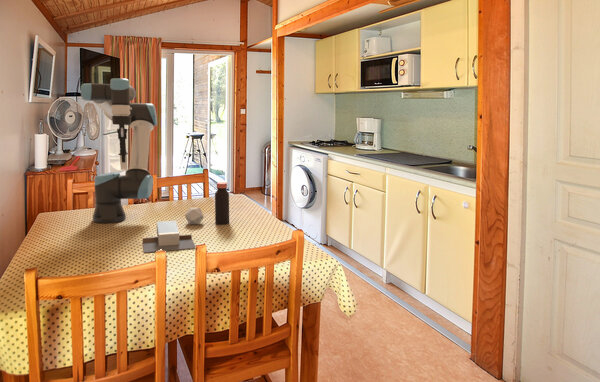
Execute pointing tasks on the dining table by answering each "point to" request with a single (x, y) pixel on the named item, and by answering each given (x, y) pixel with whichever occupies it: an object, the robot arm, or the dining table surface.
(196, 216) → the grey faceted rock
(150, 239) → the rail
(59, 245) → the dining table surface
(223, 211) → the bottle
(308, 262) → the dining table surface
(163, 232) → the tall block
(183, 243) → the mat
